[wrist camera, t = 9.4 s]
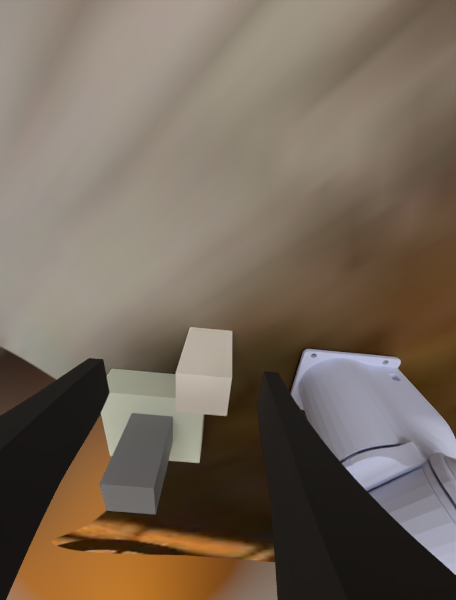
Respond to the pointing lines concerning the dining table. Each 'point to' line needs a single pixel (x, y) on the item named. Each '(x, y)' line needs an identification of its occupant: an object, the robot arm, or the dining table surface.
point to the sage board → (150, 410)
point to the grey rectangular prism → (138, 465)
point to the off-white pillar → (205, 372)
